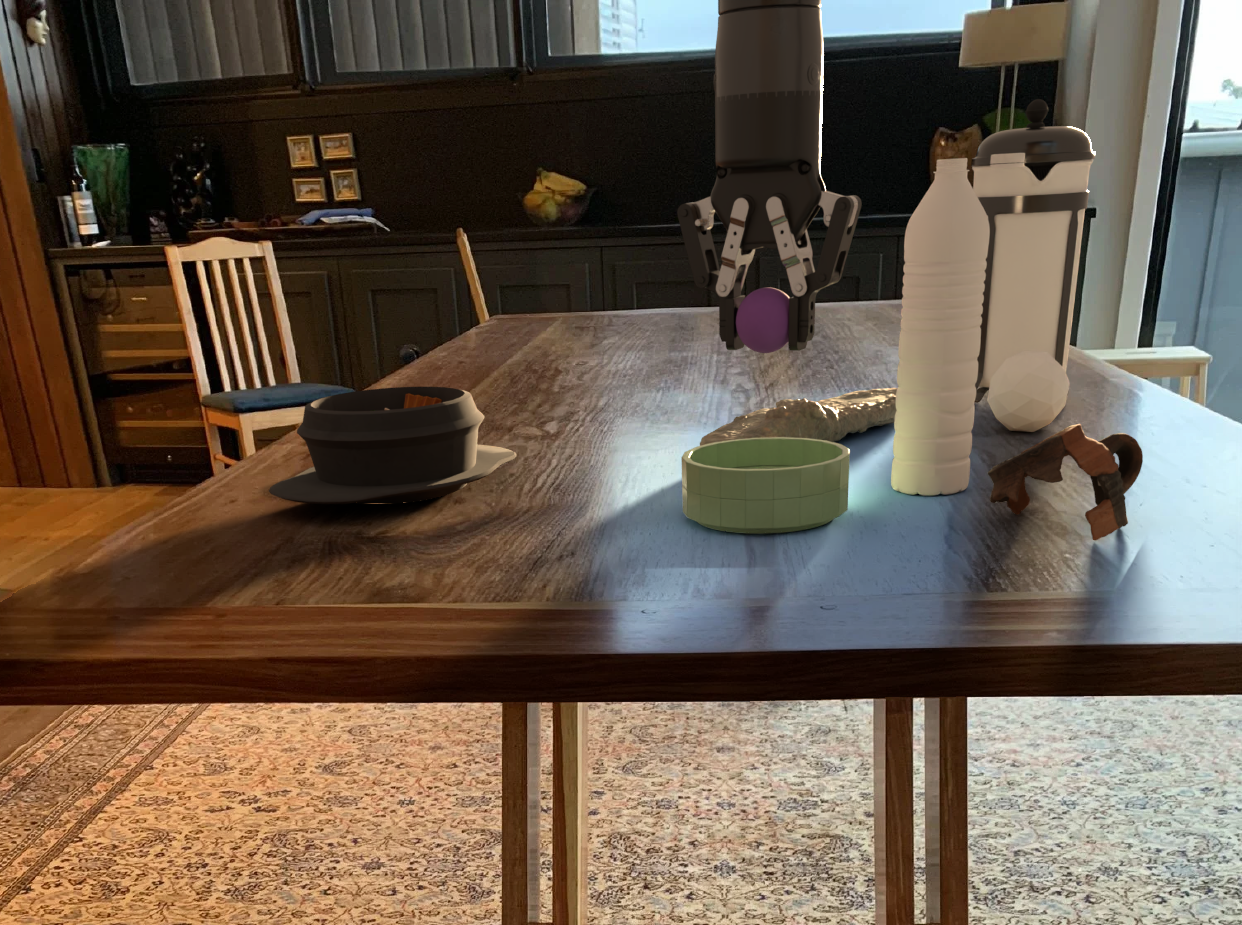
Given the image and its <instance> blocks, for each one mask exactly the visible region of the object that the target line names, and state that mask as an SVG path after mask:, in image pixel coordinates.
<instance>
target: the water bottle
mask: <svg viewBox="0 0 1242 925" xmlns="http://www.w3.org/2000/svg"><path fill="white" fill-rule="evenodd" d="M1024 160H1025V153H1010V154H994V155H991V161H990V164H992V165H990V169H991V168H1011V167H1024V163H1016V162H1024ZM997 163H1008V164H997ZM935 165H936V171H933V174H934V180H933V181H932V183H931V184H930V186H929V188H928V190H927V191H926V192H925V194H924V195H923V197H922V199H920V202H919V203H918V205H917V207H916V208H915V210H914V211H913V213H912V215H911V216H910V218H909V220H908V222H907V225H906V228H905V232H904V242H903V261H904V264H903V271H902V272H903V273H904V274H903V276H902V283H903V285H902V288H901V294H902V298H901V306H902V308H901V309H900V316H901V319H900V321H899V322H900V323H899V325H900V328H901V329H900V330H899V337H898V338H899V339H898V350H897V351H898V355H897V356H898V359H899V361H898V364H897V372H896V383H897V388H898V389H897V391H896V410H897V411H896V414H895V421H894V423H893V424H894V425H893V426H894V427H893V428H894V431H895V433H894V435H893V442H892V454H893V456H894V457H893V458H892V461H891V474H890V486H891V488H892V489H893V490H894V491H896V492H900V493H902V494H906V495H917V494H919V495H920V496H938V495H945V496H946V495H952V494H953V495H954V494H957V493H959V492H963V491H965V490H966V489H967V488H968V487H969V483H970V474H971V472H970V471H971V459H970V455H971V454H972V446H973V433H972V430H973V428H974V422H975V408H976V407H975V402H974V401H975V398H976V387H975V383H976V382H977V376H978V361H977V357H978V356H979V352H980V342H981V328H980V325H981V323H982V317H981V314H982V312H983V306H982V303H983V301H984V295H983V292H984V289H985V284H984V281H985V278H986V273H985V269H986V266H987V262H986V258H987V254H988V246H989V236H990V227H989V221H988V217H987V214H986V212H985V210H984V208H983V207H982V205H981V203H980V201H979V199H978V197H977V195H976V194H975V192H974V190H973V186H972V184H971V182H970V181H969V178H968V173H969V172H970V169H968V168H967V167H968V158H967V157H960V158H958V157H957V158H946V159H945V158H943V159H936V164H935Z"/></svg>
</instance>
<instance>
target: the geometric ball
mask: <svg viewBox="0 0 1242 925" xmlns="http://www.w3.org/2000/svg"><path fill="white" fill-rule="evenodd" d="M1070 385H1071V382H1070V379H1069V377H1068V375H1067V371H1066V372H1065V370H1064V368H1063V367H1062V366H1061V365H1060V364H1059V363H1058V362H1057V361H1056V360H1055V359H1054V358H1053V357H1052V356H1051V355H1050V354H1049V353H1048V352H1037V351H1022V352H1020V353H1018V354H1016V355H1014V356H1012V357H1010V358H1007V359H1006V360H1005V361H1004V362H1003V364H1002V365H1001V366H1000V367H999V369H998V370H997V371H996V372H995V374H994V375H993V376H992V377H991V381H990V387H989V390H988V393H987V399H986V401H987V404H988V406H989V407H990V410H991V412H992V414H993V415H994V417H995V419H996V420H997V421H998V422H999V423H1000V424H1001V425H1003V426H1004V427H1005V429H1007V430H1009V431H1011V432H1012V431H1013V432H1024V433H1025V432H1026V433H1034V432H1037V431H1038V430H1040V429H1043V428H1044V427H1047V426H1048V425H1051V423H1052V422H1053V421H1054V420H1055V419H1056V418H1057V417H1058V415H1059V414H1060V413H1061V412H1062V410H1063V409H1064V408H1065V407H1066V404H1067V399H1068V396H1069V391H1070V390H1069V389H1070Z"/></svg>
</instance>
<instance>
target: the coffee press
mask: <svg viewBox="0 0 1242 925" xmlns="http://www.w3.org/2000/svg"><path fill="white" fill-rule="evenodd" d="M1024 112H1025V115H1026V118H1027V120H1028V121H1029V123H1027V125H1026V127H1023V128H1013V129H1012V128H1011V129H1006V130H1000V131H997V132H995V133H992V134H990V135H989V136H987V137H986V138H985V139H983V141H981V143H980V144H979V146H978V148H977V150H976V154H975V157H972V158H971V164H970V165H971V167H972V168H971V169H972V171H973V186H972V188H973V190H974V192H975V194H976V195H977V197H978V199H979V201H980V203H981V205H982V207H983V208H984V210H985V212H986V214H987V217H988V221H989V227H990V236H989V246H988V254H987V258H986V262H987V266H986V269H985V273H986V278H985V281H984V284H985V289H984V292H983V295H984V301H983V303H982V306H983V312H982V314H981V317H982V323H981V325H980V328H981V342H980V352H979V356H978V357H977V361H978V376H977V382H976V383H975V387H976V398H975V401H974V404H977V403H978V404H979V403H980V402H981V401H982V399H983V398H984V396H985V394H986V393H987V392H989V387H990V381H991V377H992V376H993V375H994V374H995V372H996V371H997V370H998V369H999V367H1000V366H1001V365H1002V364H1003V362H1004V361H1005V360H1006V359H1007V358H1010V357H1012V356H1014V355H1016V354H1018V353H1020V352H1022V351H1037V352H1048V353H1049V354H1050V355H1051V356H1052V357H1053V358H1054V359H1055V360H1056V361H1057V362H1058V363H1059V364H1060V365H1061V366H1062V367H1063V368H1064V370H1065V372H1066V373H1067V367H1068V359H1069V352H1070V343H1071V334H1072V325H1073V318H1074V317H1073V316H1074V310H1075V309H1074V307H1075V299H1076V291H1077V284H1078V283H1077V282H1078V273H1079V266H1080V257H1081V246H1082V238H1083V228H1084V220H1085V214H1086V213H1085V211H1086V210H1087V209H1088V205H1089V196H1090V190H1088V185H1089V176H1090V169H1091V165H1092V164H1093V162H1094V160H1095V158H1096V151H1093V149H1092V142H1091V139H1090V137H1089V136H1088V134H1087V133H1086V132H1084V131H1083V130H1082V129H1080V128H1078V127H1073V126H1063V125H1061V126H1058V125H1057V126H1056V125H1055V126H1045V123H1044V122H1043V121H1044V119H1045V118H1046V116H1047V115H1048V112H1049V107H1048V104H1047V102H1046V101H1044V100H1043V99H1042V98H1041V99H1040V98H1037V99H1034V100H1032V101H1031V102H1030V103H1029V104H1028V105H1027V107H1026V110H1025V111H1024ZM1010 153H1025V160H1024V162H1016V163H1024V167H1011V168H991V169H990V165H992V164H990V161H991V155H994V154H1010ZM997 164H1008V163H997Z"/></svg>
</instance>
